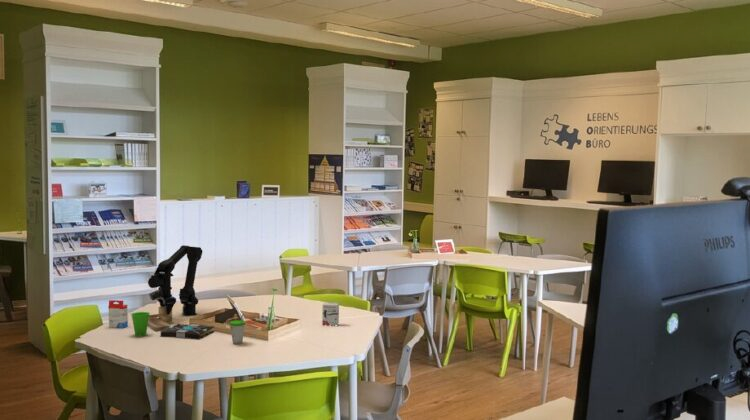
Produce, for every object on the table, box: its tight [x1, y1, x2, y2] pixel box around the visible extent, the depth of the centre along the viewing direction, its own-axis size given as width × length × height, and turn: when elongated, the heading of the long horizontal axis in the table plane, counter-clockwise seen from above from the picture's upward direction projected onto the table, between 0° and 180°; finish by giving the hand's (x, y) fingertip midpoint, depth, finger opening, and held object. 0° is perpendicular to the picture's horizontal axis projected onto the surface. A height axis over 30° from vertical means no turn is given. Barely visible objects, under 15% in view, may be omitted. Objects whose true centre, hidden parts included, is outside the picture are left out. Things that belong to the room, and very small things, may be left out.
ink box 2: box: [321, 302, 340, 326], centre depth 361 cm, size 8×5×12 cm, turn 86°
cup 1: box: [130, 311, 151, 337], centre depth 334 cm, size 9×9×11 cm
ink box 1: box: [108, 299, 129, 329], centre depth 350 cm, size 8×5×15 cm, turn 84°
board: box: [147, 317, 171, 332], centre depth 355 cm, size 8×25×2 cm, turn 35°
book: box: [159, 323, 215, 341], centre depth 338 cm, size 22×17×5 cm
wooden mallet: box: [149, 306, 173, 323], centre depth 363 cm, size 14×5×8 cm, turn 125°
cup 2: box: [229, 313, 246, 345], centre depth 321 cm, size 8×8×15 cm
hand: (165, 313), depth 365 cm, fingers open, 9 cm apart
